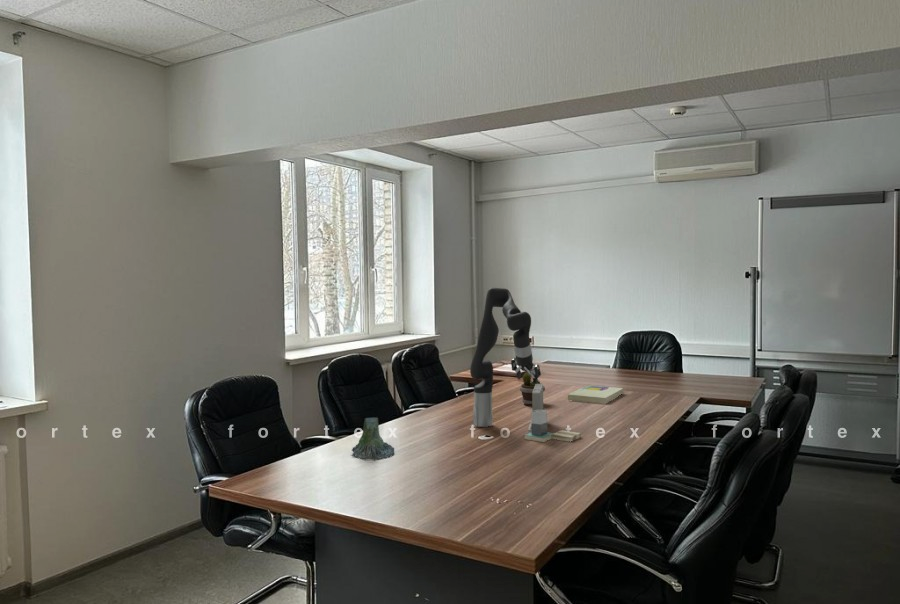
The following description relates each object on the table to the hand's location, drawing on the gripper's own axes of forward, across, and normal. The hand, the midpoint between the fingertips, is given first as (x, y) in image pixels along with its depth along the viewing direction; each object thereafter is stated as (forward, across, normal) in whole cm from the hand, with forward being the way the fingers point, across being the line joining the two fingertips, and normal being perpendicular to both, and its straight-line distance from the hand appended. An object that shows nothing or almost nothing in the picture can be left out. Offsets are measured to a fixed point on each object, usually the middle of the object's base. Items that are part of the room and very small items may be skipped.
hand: (527, 380), depth 293 cm
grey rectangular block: (+25, -7, +6) cm, 27 cm away
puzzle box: (+79, +15, -86) cm, 118 cm away
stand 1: (+27, -7, +6) cm, 29 cm away
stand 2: (+29, -17, -1) cm, 34 cm away
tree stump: (+7, +38, +67) cm, 77 cm away
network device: (+38, +5, -9) cm, 39 cm away
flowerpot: (+64, +36, -48) cm, 88 cm away
